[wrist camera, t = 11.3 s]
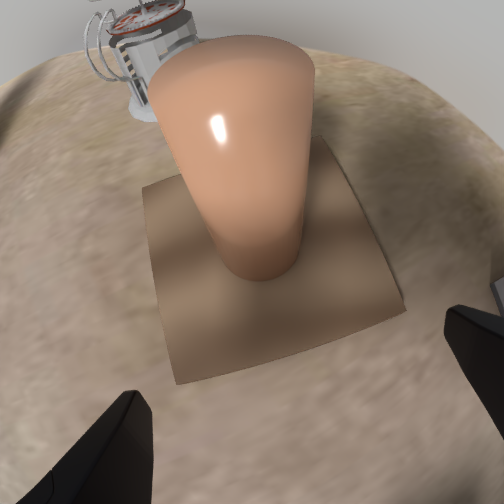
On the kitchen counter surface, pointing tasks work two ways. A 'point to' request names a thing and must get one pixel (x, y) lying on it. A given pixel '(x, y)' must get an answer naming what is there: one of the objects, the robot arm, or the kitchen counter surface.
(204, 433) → the kitchen counter surface
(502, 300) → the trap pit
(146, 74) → the french press
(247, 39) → the terracotta canister
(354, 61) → the kitchen counter surface
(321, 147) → the mat
